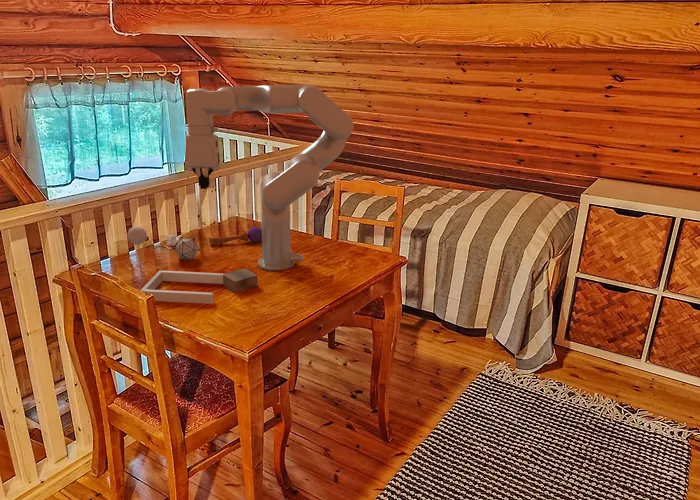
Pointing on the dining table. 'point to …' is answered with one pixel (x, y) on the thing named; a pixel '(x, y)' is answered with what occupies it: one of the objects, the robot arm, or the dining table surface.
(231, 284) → the walnut block
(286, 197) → the robot arm
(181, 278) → the u-shaped grey frame
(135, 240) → the lollipop
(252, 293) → the dining table surface
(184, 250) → the game die
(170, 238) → the teacup and saucer
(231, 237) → the kendama
